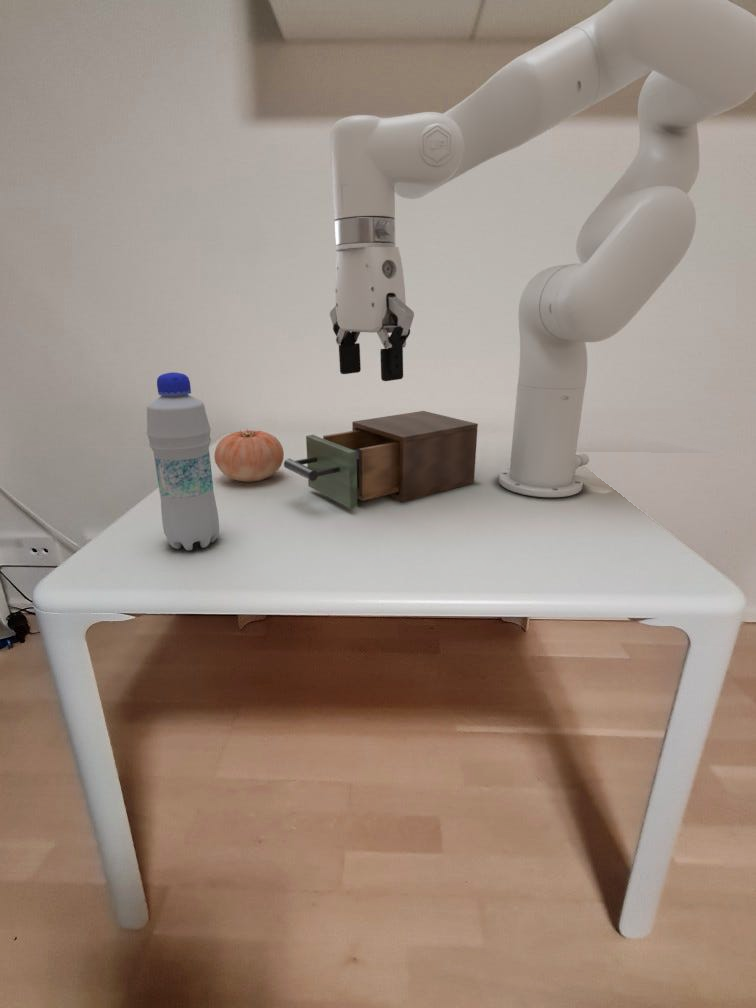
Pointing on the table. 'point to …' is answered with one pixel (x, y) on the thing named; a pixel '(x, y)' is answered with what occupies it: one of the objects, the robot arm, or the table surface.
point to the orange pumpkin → (249, 455)
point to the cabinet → (428, 451)
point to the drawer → (350, 466)
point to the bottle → (182, 463)
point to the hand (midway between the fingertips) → (370, 376)
